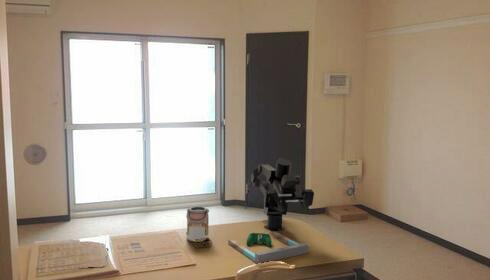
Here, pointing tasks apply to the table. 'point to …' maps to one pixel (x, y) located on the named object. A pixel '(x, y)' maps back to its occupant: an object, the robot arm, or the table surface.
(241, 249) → the rails
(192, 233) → the pink white can
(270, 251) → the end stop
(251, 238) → the gaming controller
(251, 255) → the teal band
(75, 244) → the table surface
